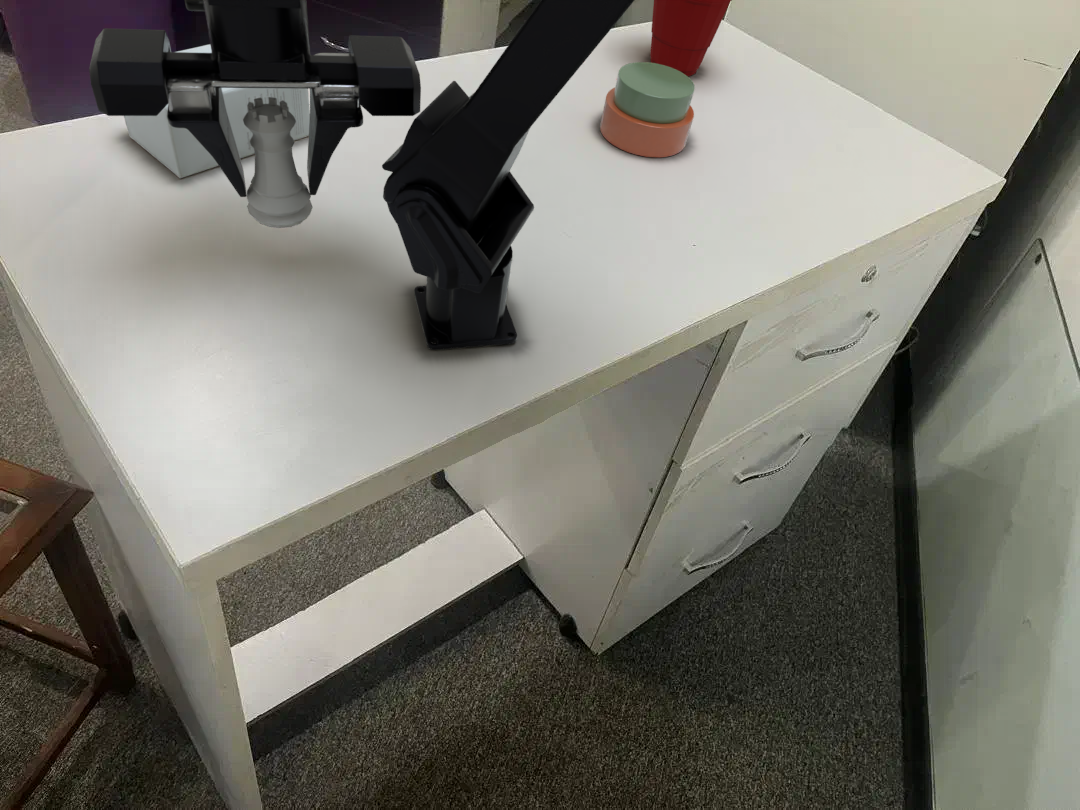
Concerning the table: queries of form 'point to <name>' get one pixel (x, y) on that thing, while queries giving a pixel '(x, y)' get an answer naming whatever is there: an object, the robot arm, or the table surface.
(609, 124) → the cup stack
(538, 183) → the table surface
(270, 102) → the rook chess piece
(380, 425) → the table surface
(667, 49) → the plastic cup
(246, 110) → the small box
